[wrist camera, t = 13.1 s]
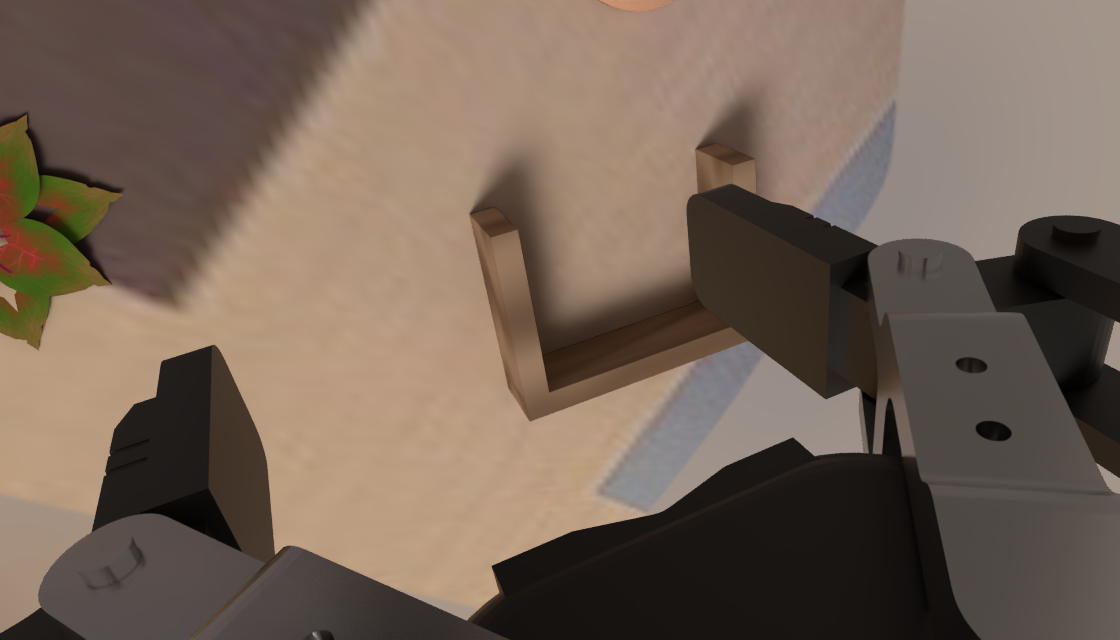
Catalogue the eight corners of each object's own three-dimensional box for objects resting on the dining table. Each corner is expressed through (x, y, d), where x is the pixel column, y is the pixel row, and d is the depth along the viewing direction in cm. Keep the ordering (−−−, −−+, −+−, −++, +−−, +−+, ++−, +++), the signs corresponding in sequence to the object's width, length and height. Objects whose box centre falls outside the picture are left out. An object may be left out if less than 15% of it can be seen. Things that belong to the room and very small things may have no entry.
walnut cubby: (469, 214, 41) (490, 237, 38) (716, 143, 46) (755, 158, 42) (508, 388, 47) (529, 421, 44) (724, 311, 52) (758, 336, 48)
